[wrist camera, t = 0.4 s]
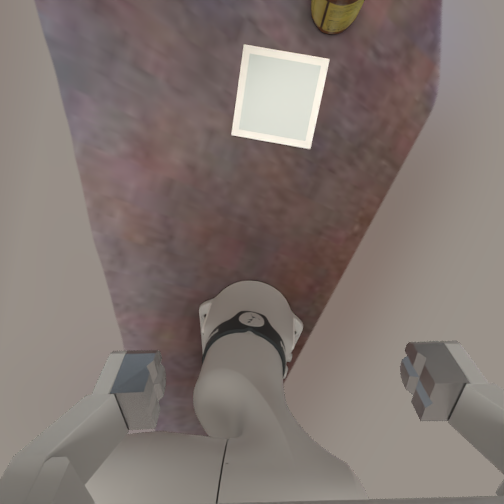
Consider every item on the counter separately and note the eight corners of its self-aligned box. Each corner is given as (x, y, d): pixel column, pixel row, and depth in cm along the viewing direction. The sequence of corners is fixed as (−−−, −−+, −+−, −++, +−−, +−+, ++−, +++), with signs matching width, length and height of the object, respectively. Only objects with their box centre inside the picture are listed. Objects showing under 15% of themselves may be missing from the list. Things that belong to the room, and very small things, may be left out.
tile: (309, 148, 51) (310, 149, 50) (232, 135, 51) (231, 135, 50) (328, 60, 47) (329, 58, 46) (244, 45, 47) (243, 44, 46)
